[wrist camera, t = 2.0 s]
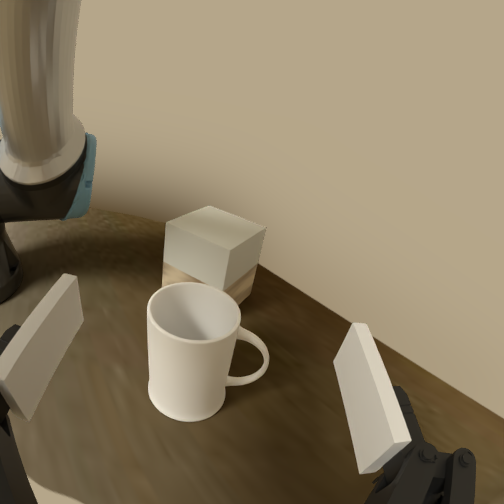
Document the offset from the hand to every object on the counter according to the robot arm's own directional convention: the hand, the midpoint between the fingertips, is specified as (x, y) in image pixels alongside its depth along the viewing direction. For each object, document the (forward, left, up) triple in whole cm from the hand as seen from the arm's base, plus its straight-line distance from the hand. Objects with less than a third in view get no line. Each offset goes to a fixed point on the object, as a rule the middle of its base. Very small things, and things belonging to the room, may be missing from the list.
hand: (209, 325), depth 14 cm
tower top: (-14, +24, -14) cm, 32 cm away
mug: (-5, +9, -20) cm, 22 cm away
